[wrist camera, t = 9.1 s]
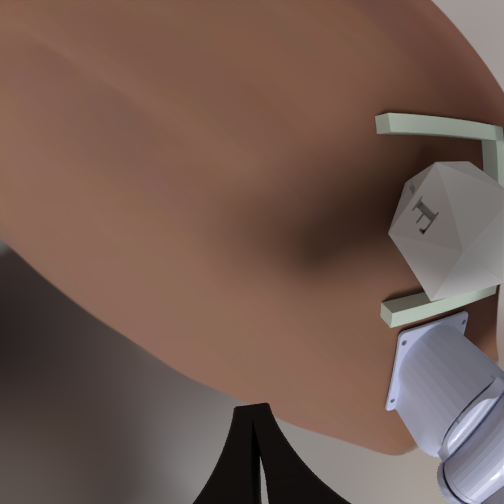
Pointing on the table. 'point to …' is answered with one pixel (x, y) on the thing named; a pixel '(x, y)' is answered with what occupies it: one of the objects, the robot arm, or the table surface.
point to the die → (451, 229)
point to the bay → (494, 165)
